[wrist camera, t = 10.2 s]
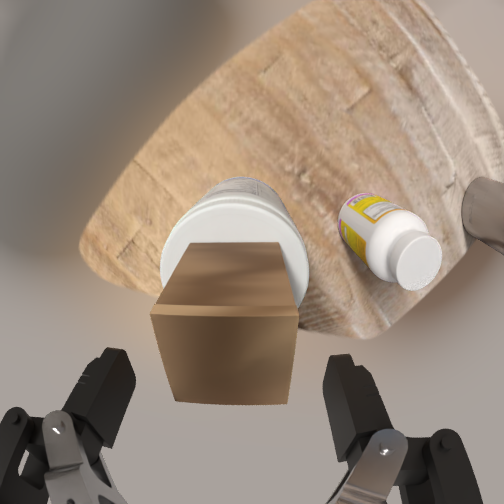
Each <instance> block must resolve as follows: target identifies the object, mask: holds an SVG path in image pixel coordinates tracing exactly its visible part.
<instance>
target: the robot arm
mask: <svg viewBox="0 0 504 504" xmlns="http://www.w3.org/2000/svg"><path fill="white" fill-rule="evenodd" d="M462 219H463V224H464V227H465V229H466V231H467V232H468V233H469V234H470V235H472V236H473V237H475V238H477V239H478V240H480V241H482V242H484V243H485V244H487V245H488V246H490V247H492V248H494V249H495V250H496V251H498V252H500V253H501V254H503V255H504V183H502V182H498V181H495V180H492V179H488V178H485V177H479V178H477V179H475V180H474V181H473V182H472V183H471V184H470V185H469V187H468V189H467V191H466V193H465V196H464V200H463V205H462ZM135 385H136V377H135V373H134V371H133V368H132V366H131V363H130V361H129V358H128V356H127V353H126V351H125V350H123V349H116V348H109V347H107V348H106V349H105V350H104V352H103V353H102V355H101V357H100V358H95V359H94V360H93V361H92V362H90V363H89V364H88V365H87V367H86V368H85V370H84V372H83V373H82V376H81V377H80V379H79V380H78V383H77V384H76V385H75V387H74V389H73V391H72V392H71V394H70V396H69V398H68V400H67V401H66V403H65V405H64V407H63V408H62V410H56V411H53V412H50V413H49V414H47V415H46V417H45V418H41V417H30V416H29V415H28V414H27V413H26V412H25V410H24V409H22V408H20V407H14V408H11V409H9V410H8V411H7V413H6V414H5V416H4V417H3V419H2V421H1V423H0V504H47V502H48V498H49V497H50V500H51V503H52V504H127V502H126V501H125V499H124V498H123V497H122V496H121V494H120V493H119V492H118V490H117V488H116V486H115V484H114V482H113V480H112V478H111V475H110V473H109V471H108V469H107V466H106V463H105V461H104V458H103V456H102V453H101V452H100V451H101V448H102V446H104V447H108V448H111V449H112V447H113V444H114V442H115V439H116V436H117V433H118V431H119V428H120V425H121V422H122V420H123V417H124V414H125V412H126V409H127V407H128V404H129V402H130V399H131V396H132V394H133V391H134V389H135ZM323 395H324V400H325V404H326V408H327V413H328V417H329V422H330V426H331V431H332V436H333V440H334V444H335V450H336V454H337V459H338V462H343V461H347V463H348V470H347V471H346V473H345V475H344V476H343V478H342V479H341V481H340V483H339V484H338V486H337V487H336V489H335V490H334V492H333V493H332V495H331V496H330V498H329V499H328V501H327V502H326V503H325V504H387V502H386V499H387V497H388V495H389V493H390V490H391V488H392V486H399V490H400V495H401V499H402V504H483V501H482V499H481V494H480V491H479V487H478V484H477V481H476V478H475V475H474V472H473V469H472V466H471V463H470V461H469V458H468V455H467V453H466V450H465V448H464V445H463V443H462V440H461V438H460V436H459V435H458V434H457V433H456V432H455V431H453V430H451V429H441V430H438V431H437V432H435V433H434V434H433V436H431V437H429V438H428V437H425V438H410V437H405V436H404V435H403V434H402V433H401V432H399V431H397V430H395V429H394V428H393V426H392V424H391V421H390V419H389V416H388V414H387V411H386V409H385V406H384V404H383V401H382V399H381V396H380V395H379V391H378V389H377V387H376V386H375V382H374V379H373V377H372V375H371V373H370V372H369V371H368V370H367V369H366V368H365V367H363V366H362V365H360V366H355V365H354V362H353V360H352V357H351V355H350V354H342V355H331V356H330V357H329V360H328V364H327V368H326V372H325V376H324V380H323ZM25 450H27V451H28V452H29V456H28V458H27V461H26V463H25V466H24V469H23V471H22V474H21V475H20V476H19V474H18V467H19V465H20V462H21V459H22V457H23V454H24V452H25Z"/></svg>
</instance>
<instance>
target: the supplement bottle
mask: <svg viewBox="0 0 504 504" xmlns="http://www.w3.org/2000/svg"><path fill="white" fill-rule="evenodd" d="M338 229H339V232H340V235H341V237H342V238H343V240H344V241H345V242H346V243H347V244H348V245H349V246H350V247H351V249H352V250H353V251H354V252H355V253H356V254H357V255H358V256H359V257H360V258H361V260H362V261H363V262H364V263H365V264H366V265H367V266H368V267H369V269H370V270H371V271H372V272H373V273H374V274H375V275H376V276H377V277H378V278H380V279H382V280H384V281H387V282H397V283H398V284H399V285H400V286H401V287H403V288H404V289H406V290H410V291H414V290H419V289H421V288H423V287H425V286H426V285H428V284H429V283H430V282H431V281H432V280H433V279H434V277H435V276H436V274H437V273H438V271H439V268H440V265H441V261H442V250H441V247H440V244H439V243H438V241H437V240H436V239H434V238H433V237H432V236H430V235H429V232H428V229H427V226H426V225H425V223H424V222H423V220H422V219H421V218H420V217H419V216H417V215H416V214H414V213H412V212H410V211H408V210H406V209H404V208H402V207H400V206H398V205H396V204H394V203H392V202H390V201H388V200H385V199H383V198H381V197H379V196H376V195H374V194H370V193H361V194H357V195H355V196H353V197H351V198H350V199H348V200H347V201H346V202H345V204H344V205H343V206H342V208H341V210H340V213H339V216H338Z"/></svg>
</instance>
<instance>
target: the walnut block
mask: <svg viewBox="0 0 504 504" xmlns="http://www.w3.org/2000/svg"><path fill="white" fill-rule="evenodd" d="M150 317H151V321H152V325H153V329H154V333H155V337H156V340H157V344H158V348H159V351H160V355H161V358H162V361H163V365H164V368H165V372H166V375H167V378H168V381H169V384H170V387H171V390H172V393H173V396H174V399H175V401H178V402H189V403H201V404H219V405H278V404H287V402H288V396H289V389H290V382H291V375H292V369H293V361H294V354H295V346H296V338H297V329H298V320H299V313H298V309H297V305H296V304H295V301H294V297H293V293H292V289H291V285H290V282H289V278H288V274H287V270H286V267H285V263H284V259H283V256H282V252H281V248H280V245H279V242H212V243H190V244H189V245H188V247H187V249H186V250H185V252H184V254H183V256H182V257H181V259H180V261H179V263H178V264H177V266H176V268H175V270H174V271H173V273H172V275H171V277H170V278H169V280H168V282H167V284H166V286H165V287H164V289H163V291H162V293H161V295H160V297H159V298H158V300H157V302H156V304H154V306H153V308H152V310H151V312H150Z"/></svg>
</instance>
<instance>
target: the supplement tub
mask: <svg viewBox="0 0 504 504" xmlns="http://www.w3.org/2000/svg"><path fill="white" fill-rule="evenodd" d="M212 242H279V245H280V248H281V252H282V256H283V259H284V263H285V267H286V270H287V274H288V278H289V282H290V285H291V289H292V293H293V297H294V301H295V304H296V305H297V309H298V307H299V306H300V304H301V302H302V301H303V298H304V296H305V294H306V291H307V287H308V282H309V263H308V258H307V252H306V248H305V245H304V242H303V240H302V238H301V235H300V233H299V231H298V230H297V228H296V226H295V224H294V222H293V220H292V218H291V217H290V215H289V213H288V211H287V209H286V208H285V206H284V204H283V202H282V200H281V199H280V197H279V196H278V194H277V193H276V192H275V191H274V190H273V189H272V188H271V187H270V186H269V185H267V184H266V183H264V182H262V181H260V180H257V179H254V178H250V177H234V178H230V179H226V180H224V181H222V182H220V183H218V184H217V185H216V186H214V187H213V188H212V189H211V190H210V191H209V192H208V193H207V194H205V195H204V196H203V197H202V198H201V199H200V200H199V201H198V202H197V203H196V204H195V205H194V206H193V207H192V208H191V209H190V210H189V211H188V212H187V213H186V214H185V215H184V216H183V217H182V218H181V219H180V220H179V221H178V222H177V224H176V225H175V226H174V228H173V229H172V231H171V233H170V235H169V237H168V239H167V241H166V243H165V246H164V248H163V251H162V255H161V261H160V275H161V281H162V285H163V288H164V287H165V286H166V284H167V282H168V280H169V278H170V277H171V275H172V273H173V271H174V270H175V268H176V266H177V264H178V263H179V261H180V259H181V257H182V256H183V254H184V252H185V250H186V249H187V247H188V245H189V244H190V243H212Z"/></svg>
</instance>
